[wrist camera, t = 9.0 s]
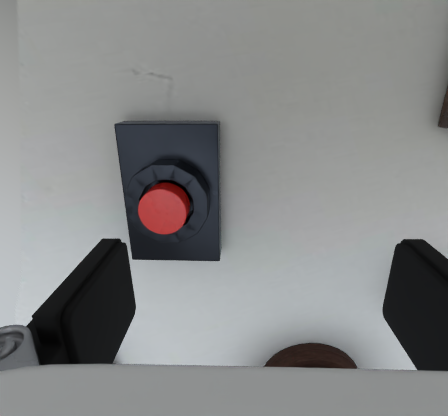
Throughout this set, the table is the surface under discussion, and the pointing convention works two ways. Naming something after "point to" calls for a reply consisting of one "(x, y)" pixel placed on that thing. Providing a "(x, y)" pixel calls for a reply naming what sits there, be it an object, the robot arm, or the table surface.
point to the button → (164, 208)
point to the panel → (444, 113)
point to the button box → (176, 174)
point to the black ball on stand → (311, 357)
